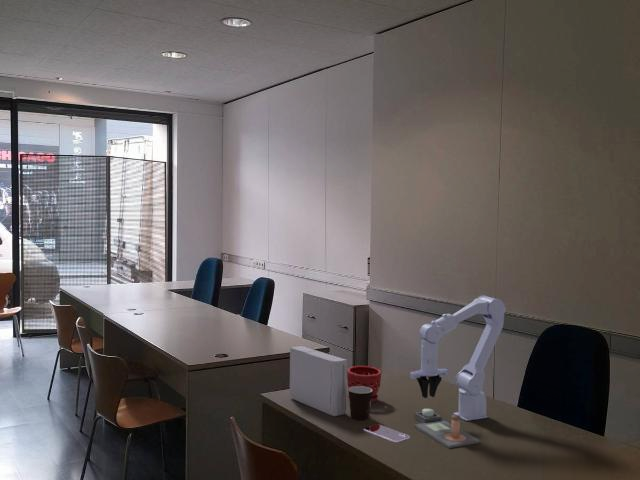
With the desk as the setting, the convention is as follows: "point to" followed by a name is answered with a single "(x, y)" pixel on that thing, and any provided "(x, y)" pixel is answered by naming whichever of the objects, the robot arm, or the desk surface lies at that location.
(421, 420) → the button housing
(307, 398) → the game console
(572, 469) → the desk surface
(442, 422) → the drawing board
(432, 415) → the button
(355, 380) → the plant pot
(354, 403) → the coffee mug
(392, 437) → the mobile phone
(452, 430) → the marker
